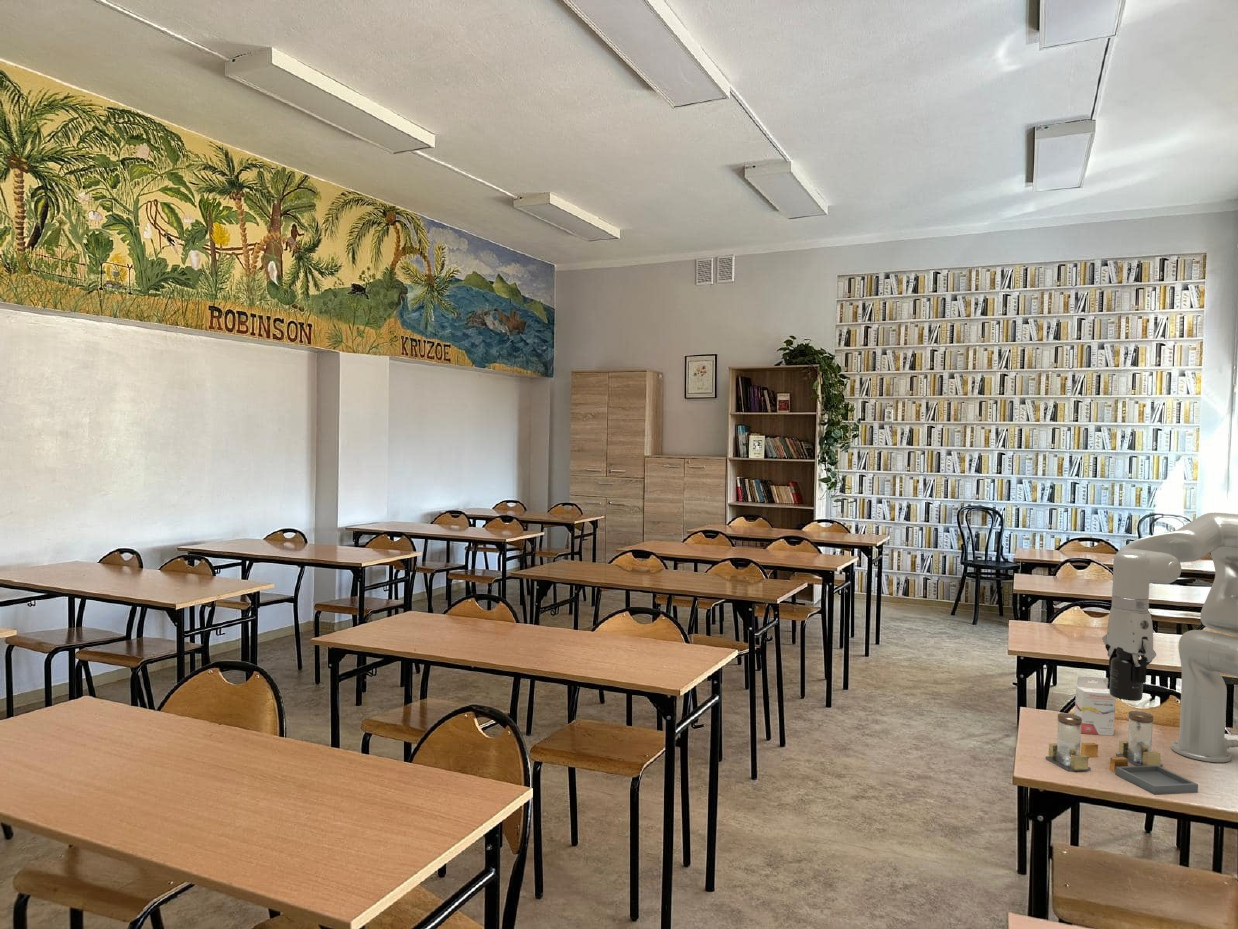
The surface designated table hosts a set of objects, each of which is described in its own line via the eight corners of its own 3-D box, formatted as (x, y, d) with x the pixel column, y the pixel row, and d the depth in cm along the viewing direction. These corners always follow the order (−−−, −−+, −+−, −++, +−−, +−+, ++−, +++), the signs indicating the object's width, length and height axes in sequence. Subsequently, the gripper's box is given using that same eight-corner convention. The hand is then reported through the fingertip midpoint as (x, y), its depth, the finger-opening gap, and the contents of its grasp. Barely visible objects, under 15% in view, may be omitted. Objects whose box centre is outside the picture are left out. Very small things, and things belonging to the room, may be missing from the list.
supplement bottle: (1142, 703, 195) (1145, 652, 195) (1109, 698, 199) (1111, 648, 198) (1142, 696, 201) (1144, 647, 201) (1109, 691, 204) (1111, 642, 204)
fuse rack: (1131, 753, 212) (1134, 707, 212) (1167, 769, 201) (1169, 721, 201) (1041, 756, 208) (1043, 709, 207) (1072, 774, 197) (1075, 724, 196)
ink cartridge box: (1081, 734, 226) (1083, 680, 225) (1073, 728, 231) (1075, 675, 230) (1114, 736, 225) (1117, 682, 225) (1105, 730, 230) (1108, 677, 230)
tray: (1156, 772, 199) (1157, 765, 199) (1197, 792, 188) (1198, 784, 188) (1115, 774, 197) (1115, 767, 197) (1154, 794, 186) (1154, 786, 186)
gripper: (1172, 611, 191) (1169, 688, 191) (1117, 597, 208) (1114, 668, 209) (1143, 611, 190) (1140, 689, 190) (1090, 597, 207) (1087, 668, 208)
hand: (1126, 677), depth 200 cm, fingers closed on supplement bottle, 6 cm apart
